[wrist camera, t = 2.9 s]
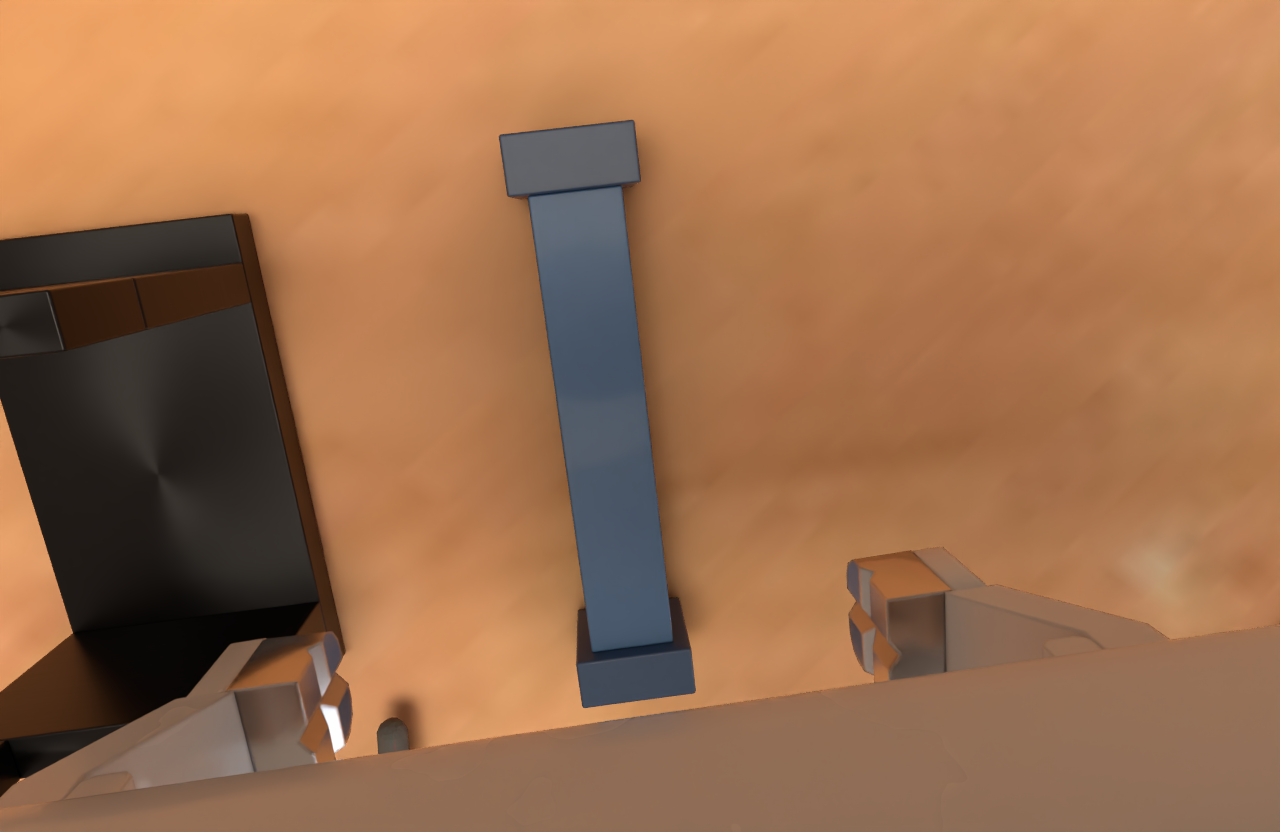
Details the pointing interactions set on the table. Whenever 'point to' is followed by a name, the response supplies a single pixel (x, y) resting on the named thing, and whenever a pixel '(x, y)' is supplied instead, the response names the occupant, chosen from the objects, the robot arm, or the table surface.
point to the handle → (602, 407)
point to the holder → (150, 471)
